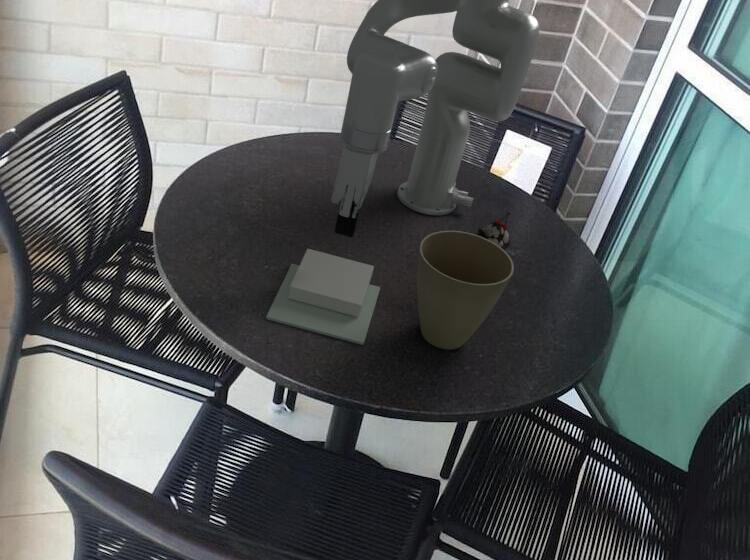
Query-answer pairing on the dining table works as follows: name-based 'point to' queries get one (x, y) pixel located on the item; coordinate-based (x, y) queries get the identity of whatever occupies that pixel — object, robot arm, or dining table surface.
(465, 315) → the plant pot
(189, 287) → the dining table surface
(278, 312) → the mat
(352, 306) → the tile
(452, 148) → the robot arm
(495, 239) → the sundae
